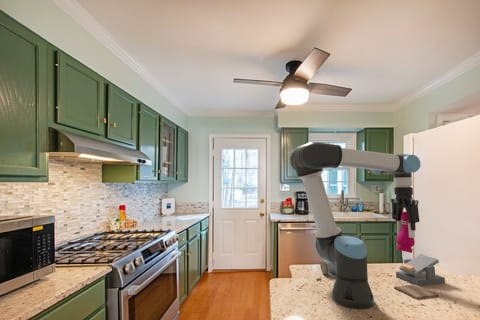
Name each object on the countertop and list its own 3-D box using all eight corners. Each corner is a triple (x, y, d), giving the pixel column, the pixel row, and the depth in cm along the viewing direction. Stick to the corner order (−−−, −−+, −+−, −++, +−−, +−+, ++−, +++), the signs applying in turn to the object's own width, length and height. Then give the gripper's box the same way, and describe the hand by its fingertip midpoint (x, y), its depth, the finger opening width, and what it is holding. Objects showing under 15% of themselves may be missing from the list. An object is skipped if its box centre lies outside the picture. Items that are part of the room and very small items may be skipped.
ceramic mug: (319, 272, 136) (319, 256, 137) (333, 271, 138) (333, 255, 138) (330, 279, 126) (329, 263, 126) (345, 278, 127) (345, 262, 128)
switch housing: (418, 286, 116) (417, 268, 117) (395, 276, 128) (394, 260, 129) (445, 283, 119) (444, 265, 120) (421, 274, 132) (419, 258, 132)
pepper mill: (417, 254, 120) (421, 210, 122) (401, 250, 120) (406, 207, 123) (407, 251, 127) (412, 209, 129) (392, 247, 127) (397, 206, 130)
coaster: (416, 299, 103) (416, 297, 103) (394, 288, 114) (394, 286, 114) (438, 296, 106) (438, 294, 106) (415, 286, 117) (414, 284, 117)
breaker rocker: (417, 278, 118) (414, 270, 118) (400, 271, 127) (397, 264, 127) (440, 264, 122) (437, 256, 122) (422, 258, 131) (419, 251, 131)
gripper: (427, 186, 118) (431, 239, 116) (394, 186, 136) (396, 232, 134) (413, 186, 116) (417, 240, 114) (381, 186, 135) (384, 232, 133)
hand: (406, 235), depth 124 cm, fingers closed on pepper mill, 6 cm apart
